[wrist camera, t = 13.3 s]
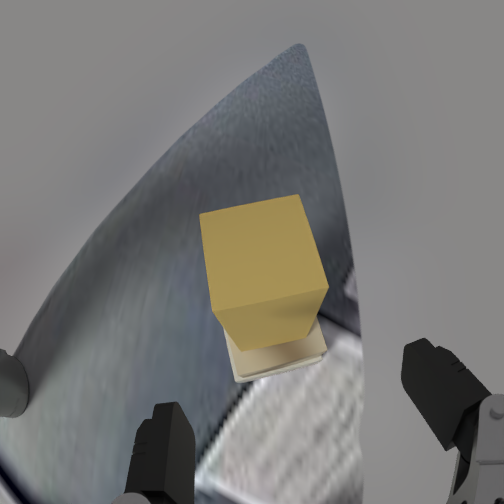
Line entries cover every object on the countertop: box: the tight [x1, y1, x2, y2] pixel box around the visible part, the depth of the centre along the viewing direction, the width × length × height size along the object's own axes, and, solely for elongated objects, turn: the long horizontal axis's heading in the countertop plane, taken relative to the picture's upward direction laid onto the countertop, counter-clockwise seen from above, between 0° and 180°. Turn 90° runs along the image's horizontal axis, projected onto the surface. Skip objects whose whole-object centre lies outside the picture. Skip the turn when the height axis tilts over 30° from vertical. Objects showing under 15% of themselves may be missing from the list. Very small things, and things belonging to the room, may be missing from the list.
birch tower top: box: [227, 316, 327, 378], centre depth 26 cm, size 7×7×4 cm
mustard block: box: [199, 194, 329, 352], centre depth 19 cm, size 5×5×11 cm
